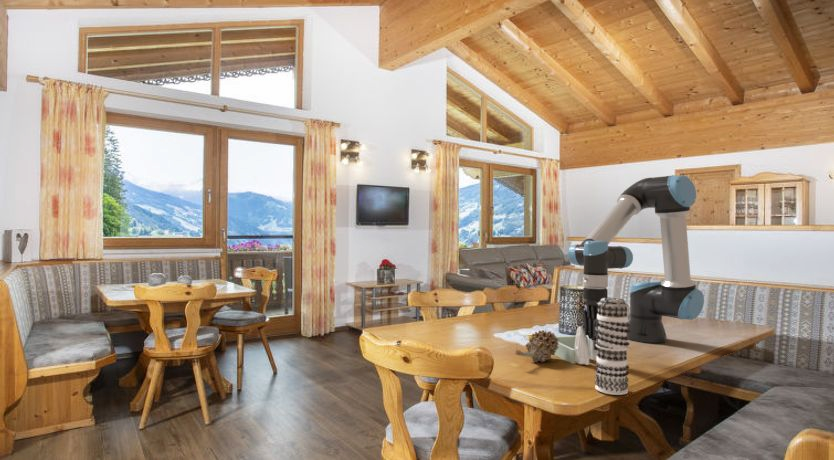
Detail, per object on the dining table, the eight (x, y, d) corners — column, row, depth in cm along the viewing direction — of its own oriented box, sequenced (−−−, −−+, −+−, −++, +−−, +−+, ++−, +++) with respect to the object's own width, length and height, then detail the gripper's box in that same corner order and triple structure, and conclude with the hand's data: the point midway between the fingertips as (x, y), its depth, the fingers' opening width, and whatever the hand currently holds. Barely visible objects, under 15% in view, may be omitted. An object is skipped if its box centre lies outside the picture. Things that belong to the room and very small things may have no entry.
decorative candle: (593, 392, 130) (594, 299, 130) (593, 382, 139) (594, 295, 139) (630, 397, 127) (631, 302, 127) (628, 386, 136) (629, 297, 136)
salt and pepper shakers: (578, 357, 167) (574, 325, 168) (591, 356, 166) (587, 324, 167) (575, 365, 156) (571, 330, 157) (589, 365, 155) (585, 330, 156)
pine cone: (538, 354, 170) (539, 325, 170) (564, 359, 164) (565, 330, 164) (505, 367, 154) (506, 335, 154) (533, 373, 148) (533, 340, 148)
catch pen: (581, 347, 181) (582, 335, 181) (613, 361, 162) (613, 347, 162) (544, 349, 177) (544, 337, 177) (572, 363, 159) (572, 349, 159)
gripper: (574, 285, 165) (573, 354, 165) (596, 290, 152) (596, 365, 152) (594, 285, 167) (593, 353, 167) (617, 289, 154) (617, 363, 154)
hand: (594, 358), depth 160 cm, fingers closed
